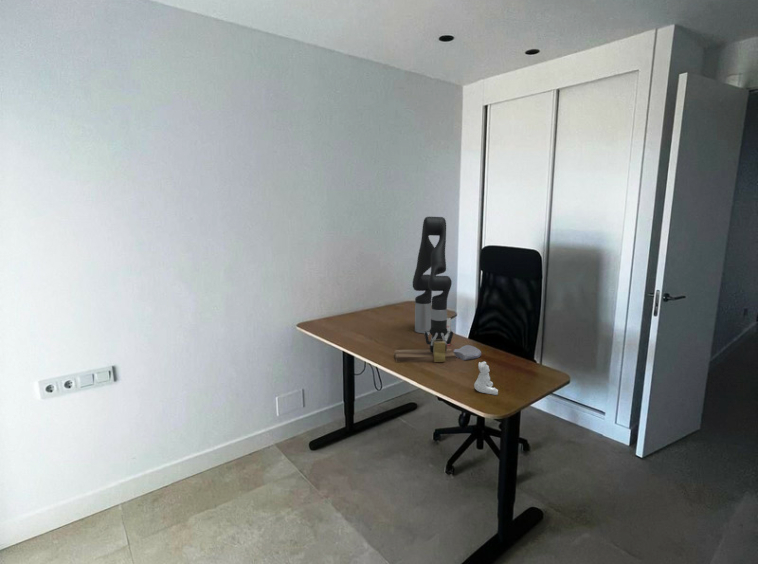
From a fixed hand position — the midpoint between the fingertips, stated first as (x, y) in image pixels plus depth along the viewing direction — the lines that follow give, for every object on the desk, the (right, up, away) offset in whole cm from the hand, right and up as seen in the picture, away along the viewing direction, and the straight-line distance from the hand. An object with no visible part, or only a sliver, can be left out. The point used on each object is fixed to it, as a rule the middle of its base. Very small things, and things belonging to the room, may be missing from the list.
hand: (438, 352), depth 201 cm
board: (-6, -3, +3) cm, 7 cm away
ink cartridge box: (+5, 0, +21) cm, 22 cm away
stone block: (+15, -3, +5) cm, 16 cm away
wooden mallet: (0, -3, +4) cm, 4 cm away
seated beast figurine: (+14, -10, -32) cm, 37 cm away
